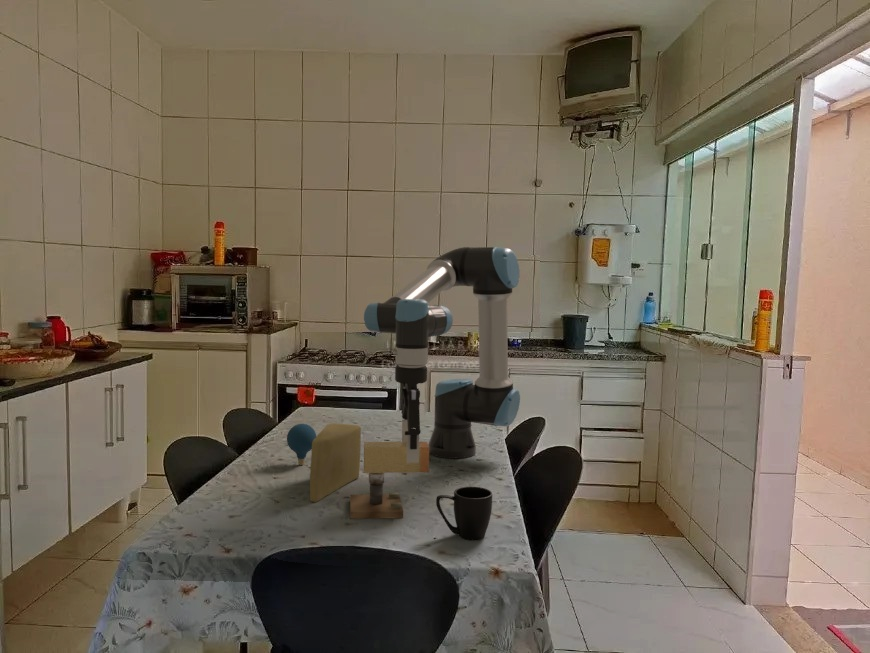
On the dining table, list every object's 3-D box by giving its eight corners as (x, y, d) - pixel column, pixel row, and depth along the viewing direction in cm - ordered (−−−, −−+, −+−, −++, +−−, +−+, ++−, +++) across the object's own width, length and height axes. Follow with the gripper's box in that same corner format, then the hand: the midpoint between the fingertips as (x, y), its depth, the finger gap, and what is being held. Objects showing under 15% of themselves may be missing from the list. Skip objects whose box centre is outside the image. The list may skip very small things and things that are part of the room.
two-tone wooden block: (363, 485, 152) (364, 447, 151) (363, 478, 157) (364, 441, 156) (428, 484, 154) (429, 447, 153) (425, 478, 159) (426, 441, 158)
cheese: (331, 505, 157) (333, 443, 156) (293, 501, 159) (294, 440, 158) (360, 478, 179) (362, 423, 178) (327, 474, 181) (328, 421, 180)
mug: (433, 528, 145) (434, 486, 144) (487, 528, 145) (489, 486, 145) (436, 543, 136) (437, 498, 136) (493, 543, 137) (495, 498, 137)
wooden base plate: (399, 500, 162) (399, 476, 162) (403, 517, 150) (403, 492, 150) (350, 500, 161) (350, 476, 160) (350, 518, 149) (350, 492, 148)
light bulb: (309, 470, 184) (310, 428, 184) (281, 467, 186) (282, 426, 185) (320, 462, 193) (321, 422, 192) (293, 459, 194) (294, 419, 193)
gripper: (391, 357, 166) (390, 439, 168) (399, 374, 141) (397, 470, 143) (421, 357, 167) (420, 439, 169) (433, 374, 142) (432, 469, 144)
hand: (409, 453), depth 156 cm, fingers open, 13 cm apart
